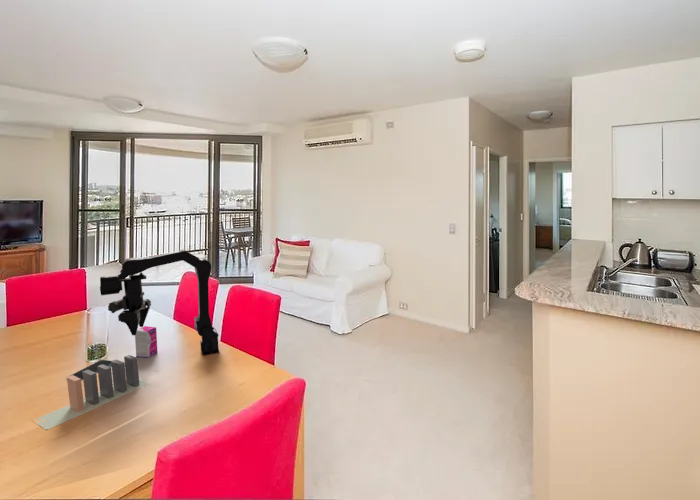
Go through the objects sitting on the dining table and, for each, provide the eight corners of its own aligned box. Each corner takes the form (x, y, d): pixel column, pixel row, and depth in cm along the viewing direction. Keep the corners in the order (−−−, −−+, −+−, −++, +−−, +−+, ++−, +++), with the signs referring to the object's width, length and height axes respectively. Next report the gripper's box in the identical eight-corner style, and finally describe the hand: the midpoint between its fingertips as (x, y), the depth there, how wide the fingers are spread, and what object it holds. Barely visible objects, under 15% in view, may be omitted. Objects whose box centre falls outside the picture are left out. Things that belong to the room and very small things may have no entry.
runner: (134, 378, 134) (134, 377, 134) (149, 384, 130) (149, 383, 130) (31, 421, 108) (31, 420, 108) (46, 431, 104) (46, 430, 104)
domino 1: (76, 405, 116) (72, 375, 115) (84, 409, 114) (81, 378, 113) (70, 407, 115) (66, 377, 114) (78, 412, 113) (75, 381, 111)
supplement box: (148, 358, 151) (146, 331, 149) (135, 357, 152) (133, 330, 150) (158, 352, 156) (156, 326, 155) (146, 351, 157) (144, 325, 156)
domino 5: (131, 381, 131) (128, 354, 130) (139, 385, 129) (137, 357, 127) (126, 383, 130) (124, 356, 128) (134, 387, 127) (132, 359, 126)
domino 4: (118, 386, 128) (116, 359, 126) (127, 390, 125) (124, 362, 124) (113, 389, 126) (111, 361, 125) (122, 392, 124) (119, 364, 122)
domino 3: (105, 392, 124) (102, 364, 123) (113, 396, 121) (111, 367, 120) (100, 394, 123) (97, 366, 121) (108, 398, 120) (105, 369, 119)
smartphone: (64, 378, 134) (101, 359, 148) (65, 380, 134) (101, 362, 148) (81, 380, 132) (116, 361, 146) (81, 383, 132) (116, 363, 146)
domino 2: (91, 398, 120) (87, 369, 119) (99, 402, 118) (96, 373, 116) (85, 401, 119) (82, 371, 117) (93, 405, 116) (90, 375, 115)
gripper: (118, 287, 148) (123, 324, 150) (99, 299, 130) (104, 342, 132) (149, 285, 151) (153, 322, 153) (134, 297, 133) (139, 339, 135)
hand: (137, 330), depth 143 cm, fingers open, 9 cm apart
